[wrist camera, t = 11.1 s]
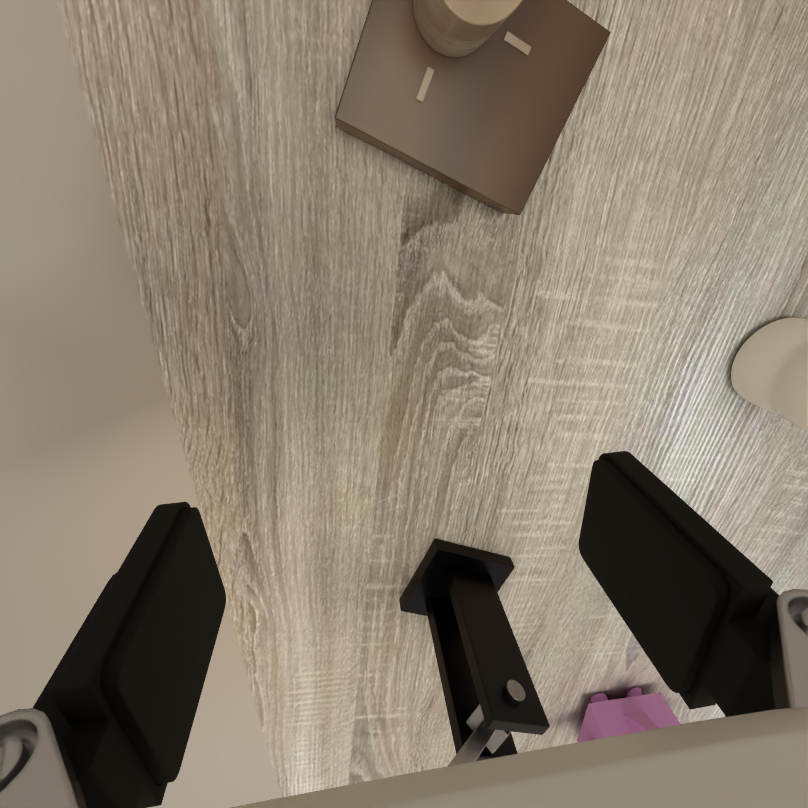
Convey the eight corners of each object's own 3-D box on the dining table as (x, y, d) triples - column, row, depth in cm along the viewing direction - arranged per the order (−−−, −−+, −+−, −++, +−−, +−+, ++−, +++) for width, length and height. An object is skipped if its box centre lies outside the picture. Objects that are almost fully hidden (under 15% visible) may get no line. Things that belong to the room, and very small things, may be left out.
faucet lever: (294, 924, 19) (339, 1013, 17) (318, 892, 18) (368, 985, 16) (476, 698, 33) (510, 736, 31) (496, 671, 31) (533, 710, 30)
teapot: (693, 660, 52) (764, 753, 44) (665, 722, 58) (722, 815, 50) (553, 680, 50) (597, 782, 42) (538, 743, 56) (574, 843, 47)
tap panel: (324, 121, 24) (322, 111, 21) (401, -126, 20) (412, -179, 17) (502, 213, 27) (521, 215, 24) (597, 16, 23) (632, -8, 20)
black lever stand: (399, 600, 41) (424, 774, 29) (434, 538, 38) (480, 702, 26) (471, 614, 43) (523, 781, 31) (510, 557, 40) (584, 716, 28)
